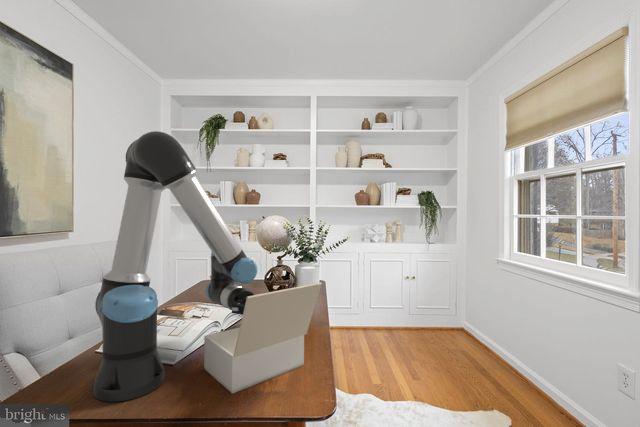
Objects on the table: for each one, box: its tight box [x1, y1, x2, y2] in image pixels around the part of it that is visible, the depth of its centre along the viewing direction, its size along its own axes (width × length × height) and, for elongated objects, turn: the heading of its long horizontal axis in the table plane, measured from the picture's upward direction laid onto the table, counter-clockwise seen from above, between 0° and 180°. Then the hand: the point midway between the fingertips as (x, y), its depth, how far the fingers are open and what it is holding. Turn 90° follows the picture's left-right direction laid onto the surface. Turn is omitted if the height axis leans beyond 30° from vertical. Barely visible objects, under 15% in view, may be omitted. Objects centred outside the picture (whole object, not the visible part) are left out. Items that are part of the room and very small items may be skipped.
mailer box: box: [203, 326, 305, 394], centre depth 92 cm, size 22×16×9 cm
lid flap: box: [233, 282, 323, 357], centre depth 83 cm, size 22×16×1 cm
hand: (285, 318), depth 86 cm, fingers closed
